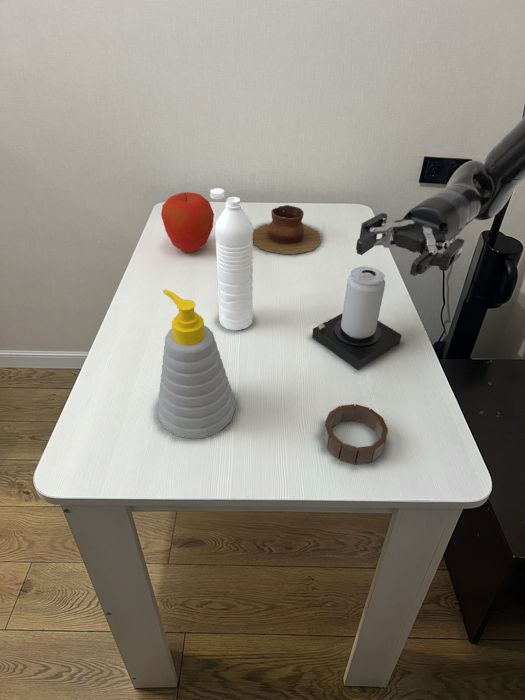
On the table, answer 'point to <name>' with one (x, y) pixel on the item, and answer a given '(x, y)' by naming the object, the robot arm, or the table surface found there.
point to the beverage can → (362, 302)
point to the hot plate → (355, 342)
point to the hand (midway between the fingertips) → (385, 258)
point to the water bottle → (234, 263)
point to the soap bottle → (193, 378)
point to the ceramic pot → (286, 232)
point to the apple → (187, 220)
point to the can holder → (347, 451)
